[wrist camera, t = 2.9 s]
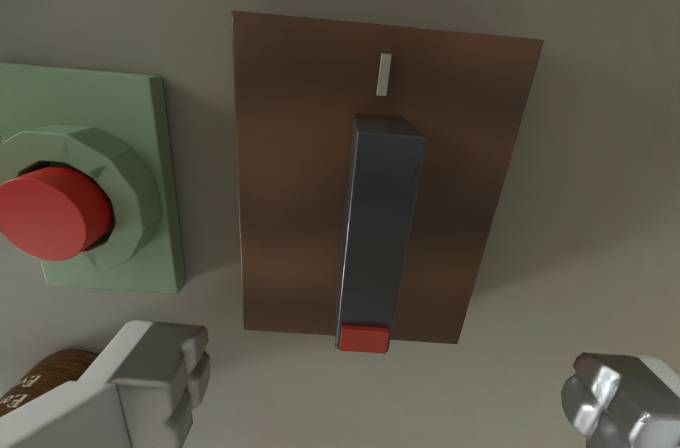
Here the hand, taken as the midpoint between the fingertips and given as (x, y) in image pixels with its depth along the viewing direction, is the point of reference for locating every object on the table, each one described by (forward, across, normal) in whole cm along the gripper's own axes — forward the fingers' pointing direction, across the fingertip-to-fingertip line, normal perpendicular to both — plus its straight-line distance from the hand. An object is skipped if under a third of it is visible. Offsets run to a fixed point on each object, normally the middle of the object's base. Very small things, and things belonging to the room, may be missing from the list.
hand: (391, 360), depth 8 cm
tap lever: (+8, 0, 0) cm, 8 cm away
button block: (+11, +13, +1) cm, 17 cm away
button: (+9, +13, +1) cm, 16 cm away
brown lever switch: (+11, 0, 0) cm, 11 cm away
